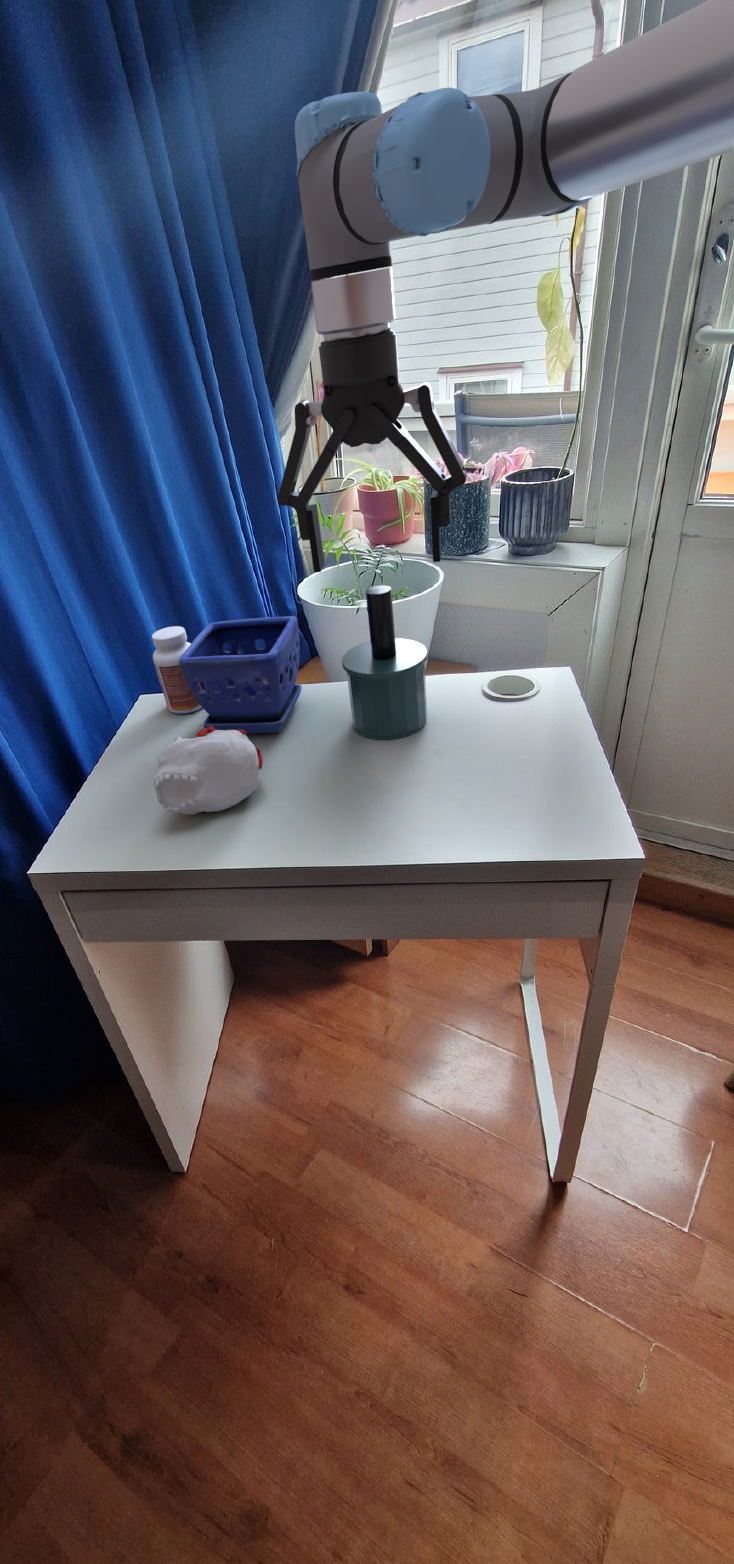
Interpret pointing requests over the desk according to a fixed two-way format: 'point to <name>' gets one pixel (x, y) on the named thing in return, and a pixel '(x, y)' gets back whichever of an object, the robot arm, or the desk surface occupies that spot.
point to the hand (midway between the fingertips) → (377, 563)
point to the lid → (383, 643)
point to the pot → (388, 704)
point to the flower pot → (245, 673)
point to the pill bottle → (173, 669)
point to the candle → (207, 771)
